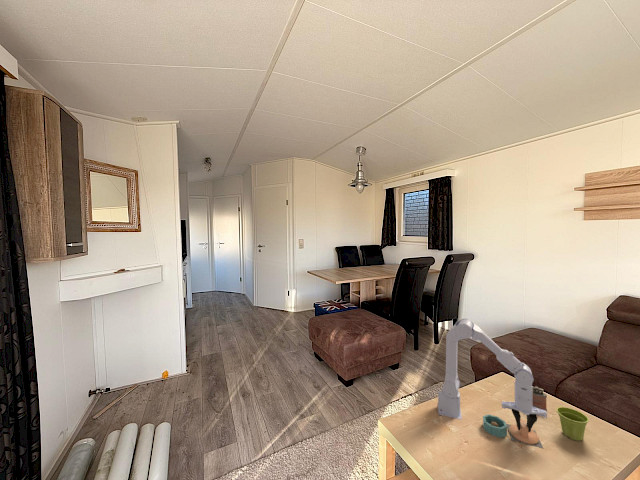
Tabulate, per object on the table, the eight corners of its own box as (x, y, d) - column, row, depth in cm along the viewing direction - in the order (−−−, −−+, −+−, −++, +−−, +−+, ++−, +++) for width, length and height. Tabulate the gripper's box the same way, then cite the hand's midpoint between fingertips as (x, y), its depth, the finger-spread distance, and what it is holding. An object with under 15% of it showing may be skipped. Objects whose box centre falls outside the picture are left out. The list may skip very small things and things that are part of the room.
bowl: (484, 434, 107) (484, 424, 107) (482, 422, 114) (482, 412, 114) (508, 440, 104) (508, 430, 104) (504, 427, 111) (504, 418, 111)
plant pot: (563, 441, 103) (563, 419, 103) (552, 424, 112) (552, 404, 112) (594, 447, 100) (594, 424, 100) (580, 430, 109) (580, 409, 109)
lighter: (546, 408, 122) (546, 387, 122) (547, 413, 119) (547, 391, 119) (524, 403, 127) (524, 382, 127) (525, 407, 124) (525, 386, 124)
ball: (491, 430, 108) (490, 423, 108) (489, 426, 111) (489, 419, 111) (499, 433, 107) (499, 425, 107) (498, 428, 110) (498, 421, 110)
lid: (511, 439, 103) (511, 427, 103) (506, 423, 112) (506, 412, 112) (542, 447, 99) (542, 435, 99) (534, 430, 108) (534, 419, 108)
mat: (511, 441, 103) (511, 440, 103) (506, 425, 112) (506, 423, 112) (543, 450, 99) (543, 448, 99) (535, 432, 108) (535, 430, 108)
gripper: (503, 397, 105) (504, 430, 105) (550, 406, 99) (550, 442, 99) (500, 387, 111) (500, 419, 112) (543, 396, 105) (543, 429, 105)
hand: (523, 429), depth 106 cm, fingers open, 3 cm apart
